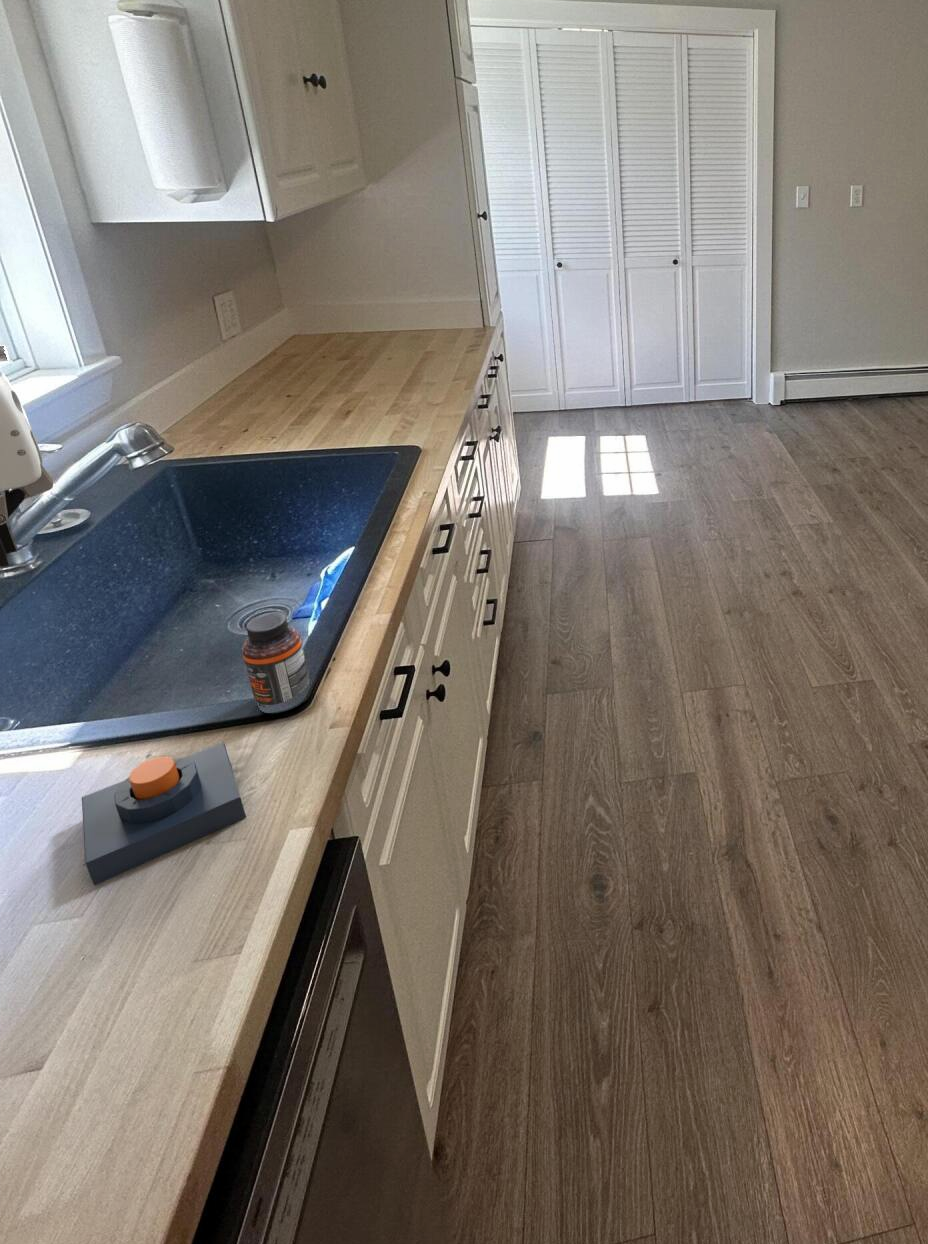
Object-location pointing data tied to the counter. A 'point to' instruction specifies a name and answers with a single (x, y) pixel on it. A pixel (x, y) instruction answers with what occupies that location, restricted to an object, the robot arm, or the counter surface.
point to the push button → (154, 777)
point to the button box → (159, 815)
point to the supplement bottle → (274, 659)
